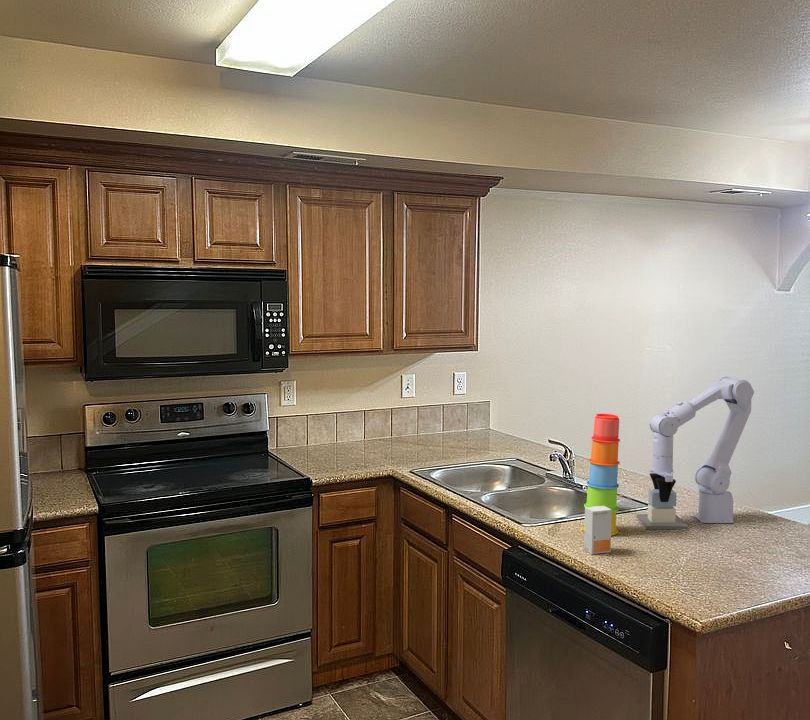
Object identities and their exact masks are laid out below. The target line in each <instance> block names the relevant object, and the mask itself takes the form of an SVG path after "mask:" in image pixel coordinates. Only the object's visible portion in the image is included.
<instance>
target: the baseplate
mask: <svg viewBox="0 0 810 720" xmlns="http://www.w3.org/2000/svg"><path fill="white" fill-rule="evenodd" d="M636 518H637V520H638V521H639V522H640V523H641V525H642V526H643V527H644V528H645V530H649V529H650V530H651V531H652V530H654V529H657V531H658V529H688V530H689V526H688V525H687V523H685V522H684V521H683V520H682V519H681V518H680V517H679V516H678V515H677V514H676V518H675V522H651V521H650V520H649V519H648V513H637V514H636ZM654 531H655V530H654Z"/></svg>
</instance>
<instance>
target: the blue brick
mask: <svg viewBox="0 0 810 720" xmlns="http://www.w3.org/2000/svg"><path fill="white" fill-rule="evenodd" d="M648 503H649V505H652V506H673V507H677V492H676V491H674V490H673V489H672V490H671V493H670V497H669V501H668V502H661V501H660V496H659V489H654V488H653V489H650V488H649V489H648Z"/></svg>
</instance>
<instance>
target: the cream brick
mask: <svg viewBox="0 0 810 720" xmlns="http://www.w3.org/2000/svg"><path fill="white" fill-rule="evenodd" d="M647 514H648V519H649V520H650V521H651V522H675V518H676V515H677V514H676V508H675V506H652V505H651V504H648V505H647Z"/></svg>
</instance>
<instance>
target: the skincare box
mask: <svg viewBox="0 0 810 720" xmlns="http://www.w3.org/2000/svg"><path fill="white" fill-rule="evenodd" d="M611 519H612V510H611V509H609V508H607V507H605V506H594V507H587V508H585V507H584V525H585V529H584V531H583V532H584V536H583V538H584V539H583V550H584V551H585V550H586V551H585V552H587V553H589V554H590V555H595V554H596V555H598V554H606V553H609V552H610V553H611V551H612V550H611V549H612V546H611V545H612V536H611ZM610 553H609V554H610Z"/></svg>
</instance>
